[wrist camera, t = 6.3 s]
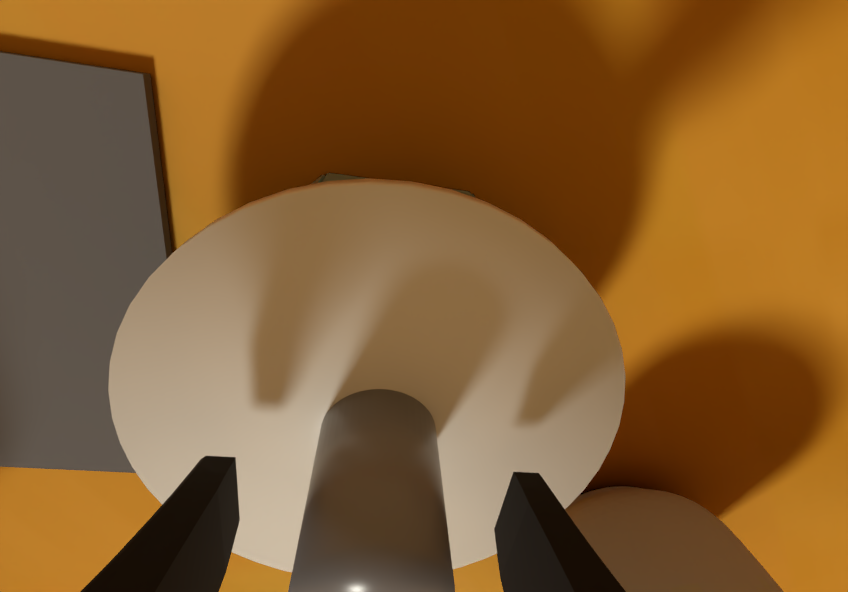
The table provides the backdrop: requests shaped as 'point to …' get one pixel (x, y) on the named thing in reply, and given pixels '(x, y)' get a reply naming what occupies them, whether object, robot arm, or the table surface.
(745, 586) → the teacup
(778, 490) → the table surface
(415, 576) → the lid
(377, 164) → the table surface
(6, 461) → the mat
